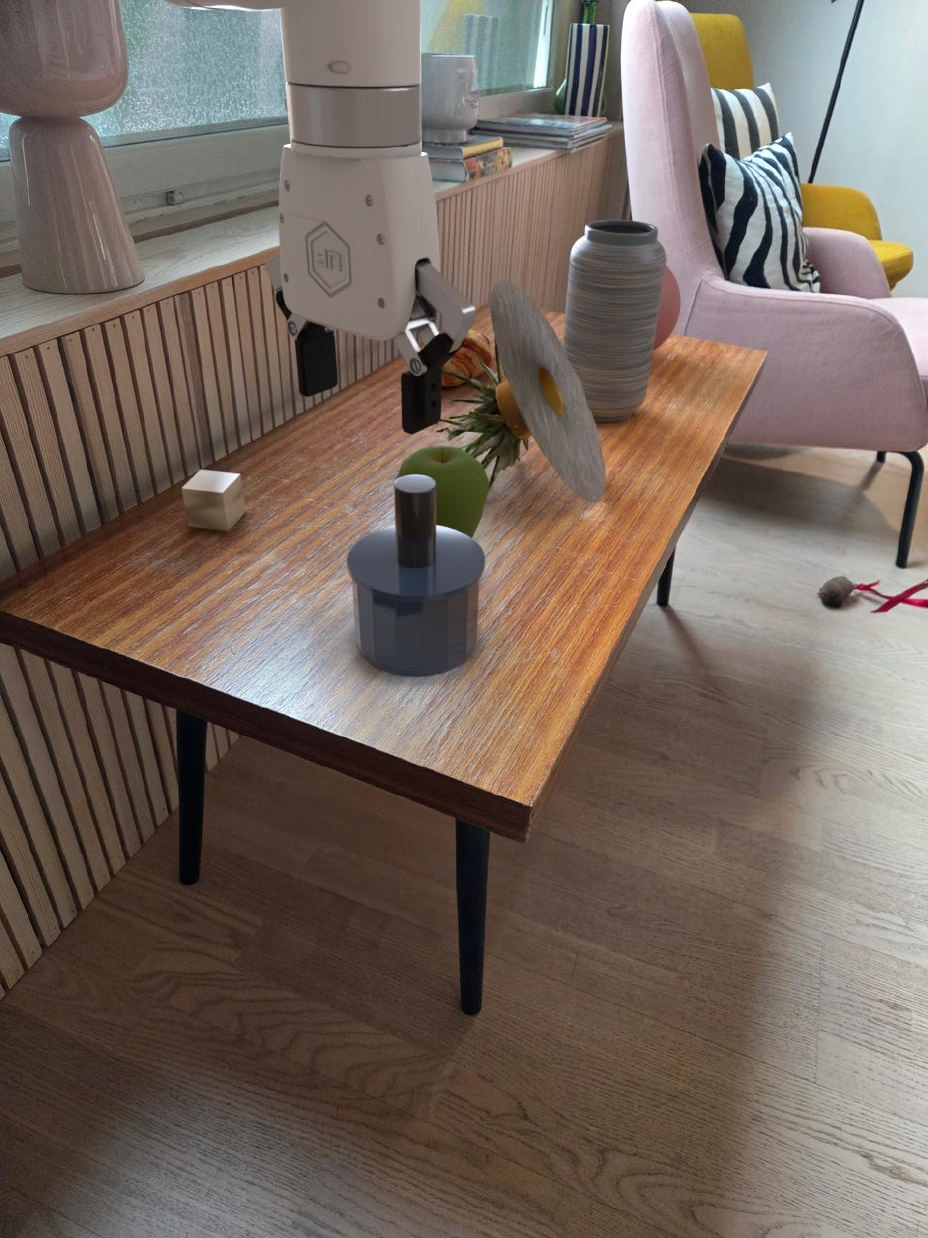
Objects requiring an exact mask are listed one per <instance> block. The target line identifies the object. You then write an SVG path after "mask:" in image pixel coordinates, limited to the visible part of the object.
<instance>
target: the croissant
mask: <svg viewBox="0 0 928 1238" xmlns="http://www.w3.org/2000/svg"><path fill="white" fill-rule="evenodd" d="M438 331H439V332H440V330H438ZM464 339H465V341H464V345H463V347H462V348H461V349H460V350H459V351H458V352H457V353H456V354H455V355H454V356H453V357H452V358H451V360H450V363H449V364H447V365H445V366H443V367H442V369H447V370H452V371H453V372H456V373H458V374H460V375H463V376H465V377H468V378H469V379H474V380H476V379H477V378H478V377H479V376H481V375H483V374H484V373H485V372H486V370H485V369H484V368H482V367H480V364H478V363H477V361H476V360H475V359H474V357H476V358H477V359H478V360H479V361H481V362H482V363H483V364H484V365H486V366H487V367H489V368H490V369H491V366H493V353H492V349H491V339H490V338H489V336H488V335H487V334H484V333H483V332H480V331H478V330H473V329H471V328H470V329H469V331H468V333H467V336H466V337H464ZM464 383H465V384H466V382H464V381H462V380H460V379H459V378H457V377H455V376H452V375H448V374H446V373H445V372H442V383H441V387H442V388H443V387H459V386H460V385H461V384H464Z"/></svg>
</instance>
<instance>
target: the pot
mask: <svg viewBox="0 0 928 1238" xmlns="http://www.w3.org/2000/svg"><path fill="white" fill-rule="evenodd" d="M480 580H481V578H480V579H479V581H478V582H477V583H476V584H475V585H473V586H472V587H471V588H469V589H468V590H466V591H464V592H462V593H460V594H458V595H455V596H452V597H449V598H446V599H441V600H436V601H429V602H402V601H395V600H389V599H385V598H382V597H379V596H376V595H373V594H371V593H369V592H367V591H365V590H364V589H362V588H360V587H359V586H358V585H357V584H356V583H355V582H354V581H353V580H352V579H351V587H352V603H353V617H354V632H355V639H356V644H357V648H358V651H359V653H360V654H361V655H362V657H363V658H364V659H365V660H366V661H367V662H368V663H369V664H371V665H372V666H374V667H376V668H378V669H379V670H381V671H384V672H387V673H389V674H393V675H398V676H405V677H428V676H434V675H440V674H443V673H446V672H448V671H451V670H453V669H456V668H457V667H459V666H461V665H463V663H465V662H466V661H468V660H469V659H470V657H471V656H472V655H473V653H474V651H475V649H476V648H477V644H478V632H479V610H480V609H479V608H480V585H481V583H480Z"/></svg>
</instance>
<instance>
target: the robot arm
mask: <svg viewBox="0 0 928 1238" xmlns="http://www.w3.org/2000/svg"><path fill="white" fill-rule="evenodd" d="M163 1H164V2H167V3H168V4H171V5H174V6H178V7H180V8H185V9H191V10H202V11H207V10H208V11H226V10H238V11H247V12H267V11H275V10H278V11H279V22H280V35H281V47H282V56H283V69H284V80H285V93H286V97H285V100H284V108H285V111H286V113H287V116H288V117H287V118H288V128H289V139H290V140H289V141H290V143H287V144H284V145H283V148H282V153H281V161H280V173H279V185H278V186H279V189H278V239H279V251H278V252H276V253H275V254H273V255H272V256H270V257H268V258H266V260H265V262H264V268H265V270H266V271H265V272H266V273H267V276H268V278H269V280H270V283H271V285H272V288H273V291H274V292H276V293H275V302H276V304H277V306H278V308H279V309H280V311H281V313H282V315H284V317H285V319H286V320H287V321H286V331H287V333H288V335H289V336H290V337H291V338H292V339H293V338H294V350H295V360H296V373H297V383H298V392H299V394H300V395H301V396H303V397H305V398H310V397H312V396H315V395H318V394H320V393H323V392H326V391H329V390H331V389H334V388H336V387H337V386H338V385H339V384H338V383H339V379H338V377H339V376H338V362H337V348H336V336H335V330H337V331H340V332H344V333H347V334H351V335H354V336H358V337H361V338H364V339H368V340H372V341H378V342H385V341H390V340H392V341H393V344H394V345H395V346H396V348H397V350H398V352H399V354H400V356H401V357H402V360H403V361H404V364H405V365H406V367H407V368H408V371H405V372H403V373H401V377H400V393H401V394H400V395H401V400H400V401H401V429H402V430H403V432H404V433H406V434H408V435H411V436H412V435H415V434H417V433H419V432H421V431H424V430H426V429H428V428H430V427H432V426H434V425H436V424H437V423H438V424H439V423H440V422H439V421H440V418H441V419H442V386H441V383H442V367H443V366H445V365H447V364H449V363H450V360H451V358H452V357H453V356H454V355H455V354H456V353H457V352H458V351H459V350H460V349H461V348H462V347H463V345H464V341H465V339H464V337H466V336H467V333H468V331H469V329H470V330H471V328H472V325H473V323H474V321H475V318H476V317H477V308H476V306H475V305H474V303H472V302H471V301H470V300H469V298H467V296H465V295H464V294H463V293H462V292H461V291H460V290H459V289H458V288H456V287H455V285H454V284H453V283H452V282H450V281H449V280H448V279H447V278H446V277H445V276H444V275H443V274H442V273H441V256H440V239H439V238H440V237H439V236H440V235H439V223H438V213H437V204H436V197H435V195H436V194H435V189H434V183H433V176H432V171H431V170H432V169H431V165H430V160H429V155H428V152H425V151H422V150H423V149H422V147H423V146H422V145H423V143H422V85H421V84H422V7H421V6H422V5H421V4H422V3H421V1H422V0H163ZM439 315H440V316H441V324H440V326H439V328H440V330H438V327H437V326H436V324H435V323H436V322H437V320H438V317H439ZM326 328H328V329H326ZM439 331H440V332H439ZM416 334H417V335H418V337H419V339H420V341H421V342H422V345H423V348H422V349H421V347H420V346H419V343H418V342H417V340H416V338H415V336H414V335H416Z"/></svg>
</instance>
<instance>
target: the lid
mask: <svg viewBox="0 0 928 1238" xmlns="http://www.w3.org/2000/svg"><path fill="white" fill-rule="evenodd" d="M395 480H396V479H395ZM393 493H394V494H393V496H394V497H393V498H394V501H393V502H394V525H391V526H386V527H383V528H379V529H377V530H374V531H371V532H369V533H367V534H365V535H364V536H362V537H361V538H359V539H358V540H356V542H354V544H353V545H352V546H351V547H350V549H349V551H348V553H347V555H346V568H347V572H348V575H349V577H350V578H351V581H352V580H353V581H354V582H355V583H356V584H357V585H358V586H359V587H360V588H362V589H364V590H365V591H367V592H369V593H371V594H373V595H376V596H379V597H382V598H385V599H389V600H395V601H402V602H429V601H436V600H441V599H446V598H449V597H452V596H455V595H458V594H460V593H462V592H464V591H466V590H468V589H469V588H471V587H472V586H473V585H475V584H476V583H477V582H478V581H479V579H480V580H481V578H482V576H483V574H484V572H485V569H486V556H485V552H484V550H483V548H482V547H481V545H480V544H479V543H478V542H477V541H476V540H475V539H473V538H471V537H469V536H468V535H466V534H464V533H462V532H459V531H457V530H454V529H451V528H448V527H443V526H438V525H436V499H437V484H436V482H435V480H434V479H432V478H431V477H428V476H425V475H417V474H414V475H406V476H402V477H400V478H398V479H397V480H396V481H394V483H393Z"/></svg>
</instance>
